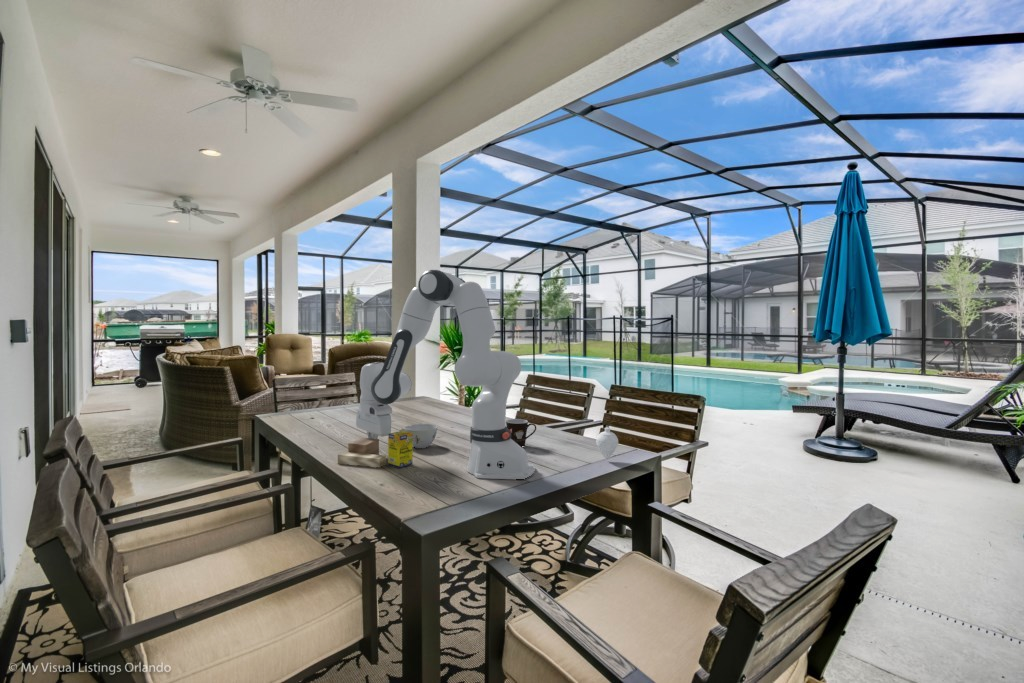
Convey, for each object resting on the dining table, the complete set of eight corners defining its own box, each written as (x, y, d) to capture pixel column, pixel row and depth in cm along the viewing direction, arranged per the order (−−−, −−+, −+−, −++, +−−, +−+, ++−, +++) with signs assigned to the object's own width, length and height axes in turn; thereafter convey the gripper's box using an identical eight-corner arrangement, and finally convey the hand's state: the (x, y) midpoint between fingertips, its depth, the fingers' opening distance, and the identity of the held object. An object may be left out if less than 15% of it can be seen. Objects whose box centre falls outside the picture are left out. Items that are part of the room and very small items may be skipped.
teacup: (442, 443, 187) (442, 423, 186) (431, 452, 174) (431, 430, 174) (406, 441, 189) (406, 421, 189) (393, 449, 177) (393, 428, 177)
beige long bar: (385, 464, 159) (385, 455, 158) (379, 467, 155) (379, 458, 155) (344, 460, 163) (344, 451, 163) (337, 463, 159) (337, 454, 159)
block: (379, 455, 168) (378, 439, 168) (365, 462, 161) (365, 445, 160) (362, 454, 170) (362, 437, 170) (348, 460, 163) (348, 443, 163)
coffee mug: (503, 448, 180) (504, 422, 179) (507, 443, 188) (508, 418, 188) (533, 450, 178) (534, 424, 178) (536, 444, 186) (536, 419, 186)
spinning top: (607, 466, 159) (608, 431, 159) (591, 460, 165) (591, 427, 165) (622, 462, 164) (623, 428, 163) (606, 457, 170) (606, 424, 169)
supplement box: (399, 468, 154) (399, 436, 154) (387, 465, 158) (387, 433, 157) (413, 464, 159) (413, 432, 158) (401, 461, 162) (401, 430, 162)
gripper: (351, 403, 175) (351, 440, 176) (378, 411, 161) (378, 451, 161) (367, 401, 180) (367, 437, 180) (394, 409, 165) (394, 448, 166)
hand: (372, 444), depth 171 cm, fingers closed
